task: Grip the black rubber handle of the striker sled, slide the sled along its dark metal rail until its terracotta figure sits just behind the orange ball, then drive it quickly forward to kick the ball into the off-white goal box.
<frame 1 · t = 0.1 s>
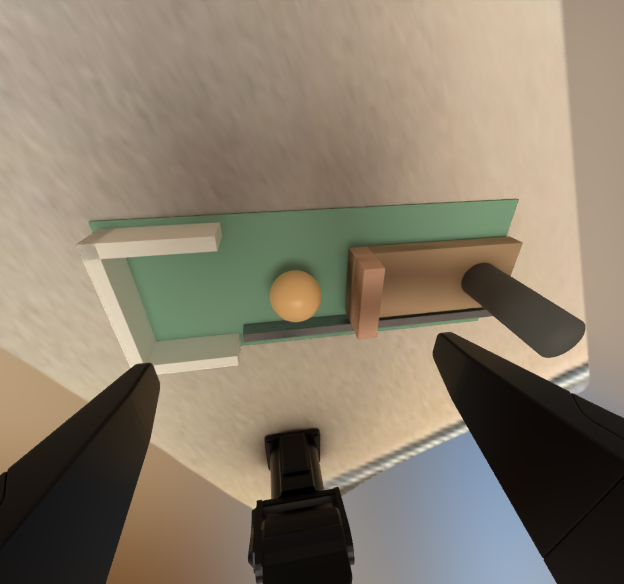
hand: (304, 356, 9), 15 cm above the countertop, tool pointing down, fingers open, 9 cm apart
striker sled: (456, 303, 21), point 5 cm above the countertop, slide at 0.0 cm
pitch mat: (322, 280, 25), on the countertop
foosball: (295, 296, 23), point 2 cm above the countertop, touching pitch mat
goal box: (180, 292, 23), resting on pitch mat
guide rail: (372, 313, 27), resting on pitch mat
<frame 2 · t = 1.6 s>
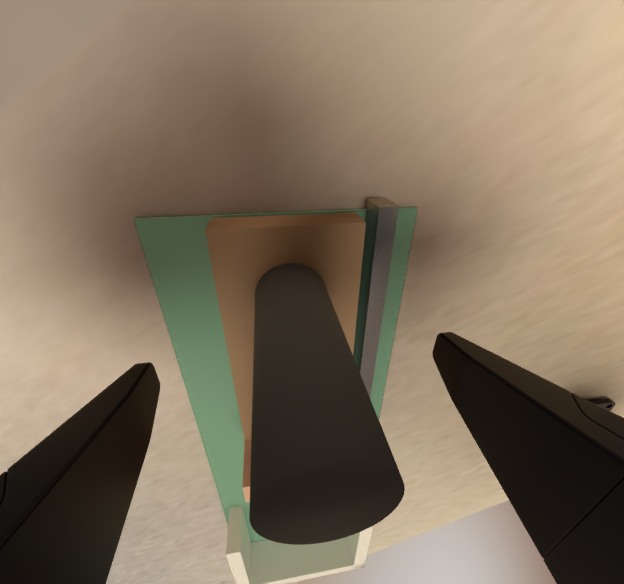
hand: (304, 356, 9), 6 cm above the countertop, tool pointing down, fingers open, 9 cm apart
striker sled: (301, 422, 12), point 5 cm above the countertop, slide at 0.0 cm
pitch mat: (294, 438, 21), on the countertop
goal box: (298, 516, 27), resting on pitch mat
guide rail: (354, 384, 19), resting on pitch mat
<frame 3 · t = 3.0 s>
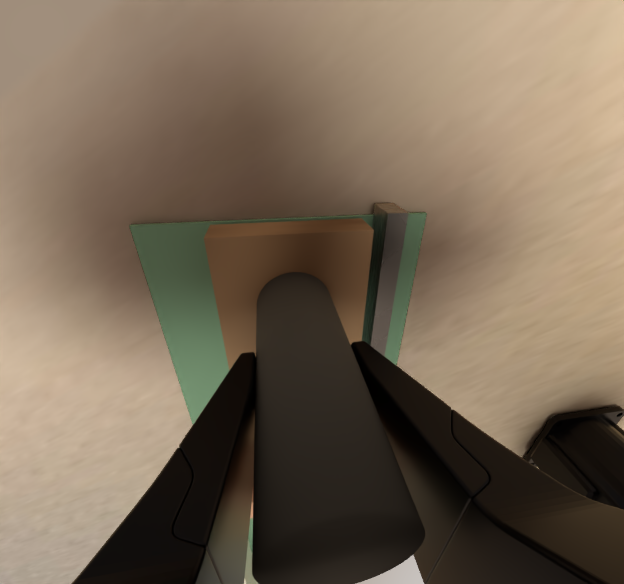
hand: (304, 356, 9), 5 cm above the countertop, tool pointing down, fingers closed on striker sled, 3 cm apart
striker sled: (306, 440, 11), point 5 cm above the countertop, slide at 0.0 cm, touching gripper
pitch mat: (296, 449, 20), on the countertop
guide rail: (359, 394, 18), resting on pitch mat
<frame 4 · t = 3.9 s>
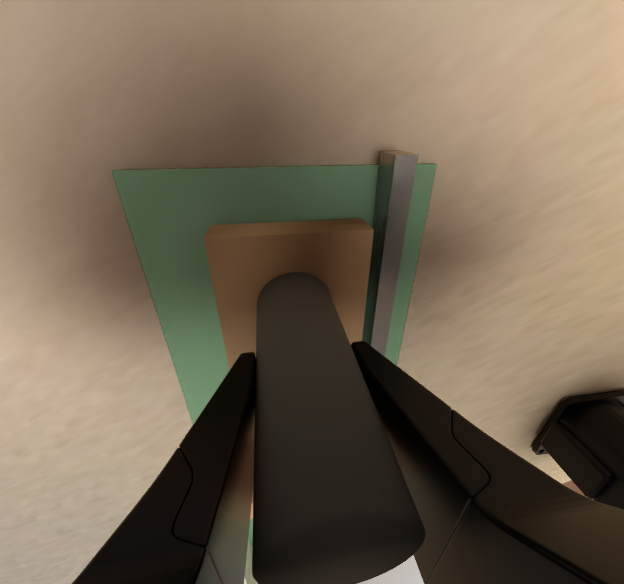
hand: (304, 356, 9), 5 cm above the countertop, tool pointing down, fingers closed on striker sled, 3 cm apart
striker sled: (306, 440, 11), point 5 cm above the countertop, slide at 2.0 cm, touching gripper
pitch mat: (296, 431, 19), on the countertop
guide rail: (362, 371, 17), resting on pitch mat
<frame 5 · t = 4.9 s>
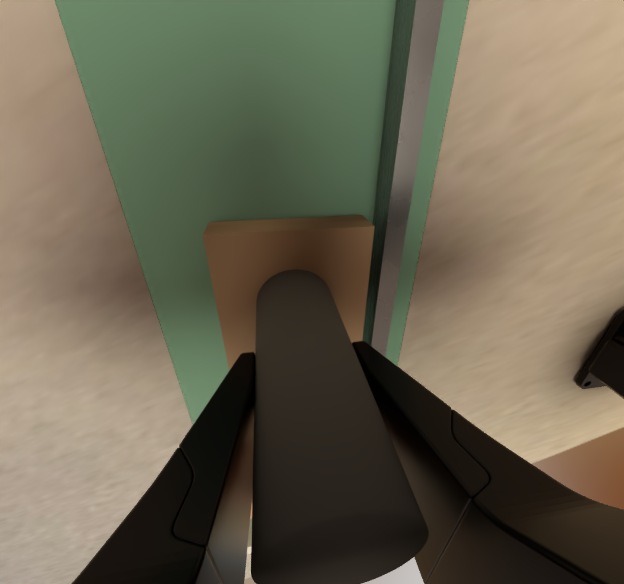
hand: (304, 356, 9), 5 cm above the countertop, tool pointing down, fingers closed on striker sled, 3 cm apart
striker sled: (306, 439, 11), point 5 cm above the countertop, slide at 9.8 cm, touching gripper
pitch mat: (292, 335, 15), on the countertop
guide rail: (377, 243, 13), resting on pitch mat
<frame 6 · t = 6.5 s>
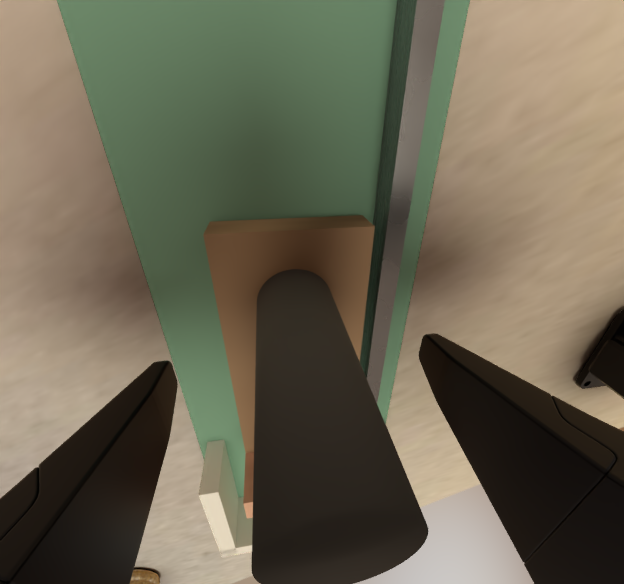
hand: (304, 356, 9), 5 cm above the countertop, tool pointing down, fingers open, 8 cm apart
striker sled: (306, 438, 11), point 5 cm above the countertop, slide at 9.8 cm
sprinkles bottle: (134, 575, 26), on the countertop
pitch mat: (292, 334, 15), on the countertop
goal box: (297, 462, 21), resting on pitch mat
guide rail: (377, 242, 13), resting on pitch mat
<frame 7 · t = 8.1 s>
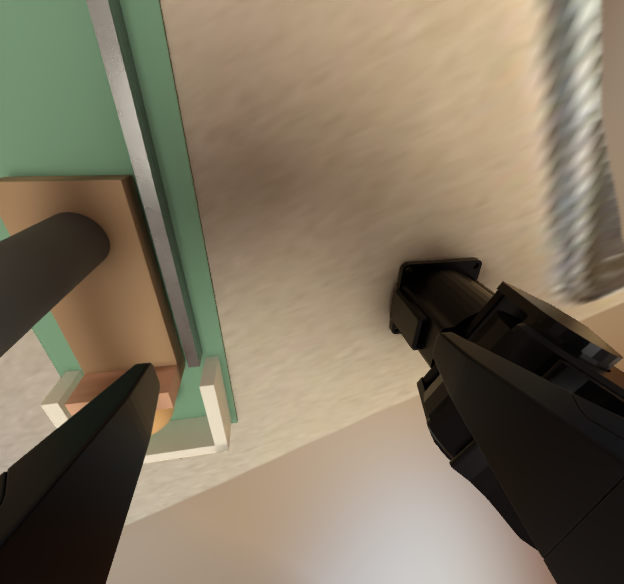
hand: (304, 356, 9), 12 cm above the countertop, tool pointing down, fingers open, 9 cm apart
striker sled: (76, 337, 15), point 5 cm above the countertop, slide at 9.8 cm
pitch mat: (113, 275, 19), on the countertop
foosball: (146, 407, 22), point 2 cm above the countertop, tilted 144°, touching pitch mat
goal box: (158, 396, 25), resting on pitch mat
guide rail: (160, 199, 17), resting on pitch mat
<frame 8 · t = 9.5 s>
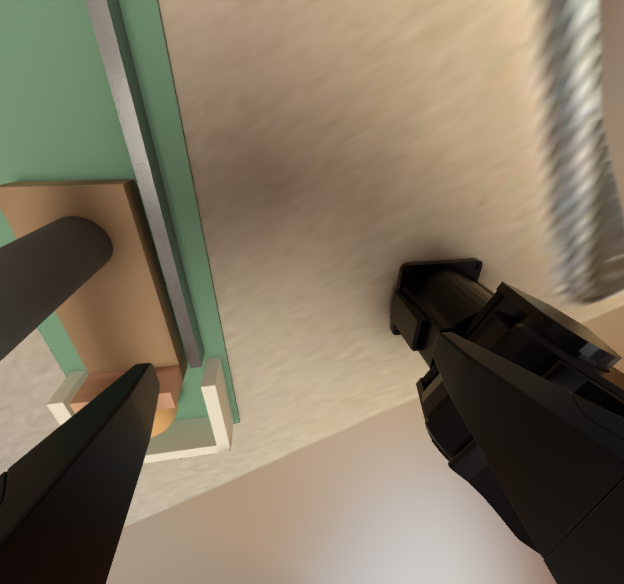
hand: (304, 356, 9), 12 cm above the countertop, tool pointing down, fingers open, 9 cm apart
striker sled: (79, 337, 15), point 5 cm above the countertop, slide at 9.8 cm
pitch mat: (116, 277, 19), on the countertop
foosball: (149, 409, 23), point 2 cm above the countertop, tilted 138°, touching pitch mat
goal box: (161, 396, 25), resting on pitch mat
guide rail: (161, 202, 17), resting on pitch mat
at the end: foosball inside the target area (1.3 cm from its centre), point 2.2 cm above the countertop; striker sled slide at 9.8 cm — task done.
